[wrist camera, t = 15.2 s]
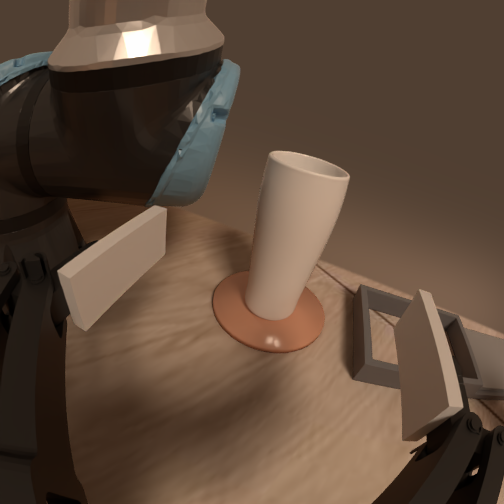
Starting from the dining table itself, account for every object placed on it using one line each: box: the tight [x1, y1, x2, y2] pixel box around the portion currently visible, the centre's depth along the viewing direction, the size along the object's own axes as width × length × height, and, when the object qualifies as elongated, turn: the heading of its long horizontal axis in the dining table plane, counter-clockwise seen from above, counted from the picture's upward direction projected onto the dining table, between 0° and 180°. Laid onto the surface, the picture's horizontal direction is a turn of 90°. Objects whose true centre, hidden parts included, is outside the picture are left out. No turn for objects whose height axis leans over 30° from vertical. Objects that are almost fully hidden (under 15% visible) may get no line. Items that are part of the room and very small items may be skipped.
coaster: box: [213, 271, 325, 353], centre depth 28 cm, size 12×12×1 cm
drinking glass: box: [245, 151, 350, 321], centre depth 24 cm, size 7×7×15 cm
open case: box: [353, 284, 504, 400], centre depth 24 cm, size 33×13×2 cm, turn 74°
